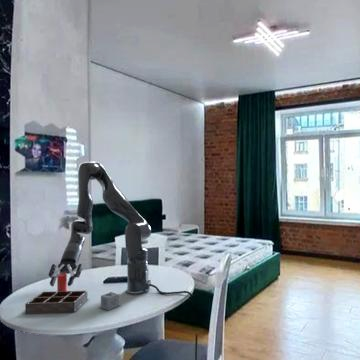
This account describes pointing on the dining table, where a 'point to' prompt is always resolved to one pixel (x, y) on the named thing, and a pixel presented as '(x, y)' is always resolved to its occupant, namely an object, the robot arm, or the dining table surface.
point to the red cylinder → (62, 282)
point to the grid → (56, 302)
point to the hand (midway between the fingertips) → (60, 285)
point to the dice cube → (109, 301)
